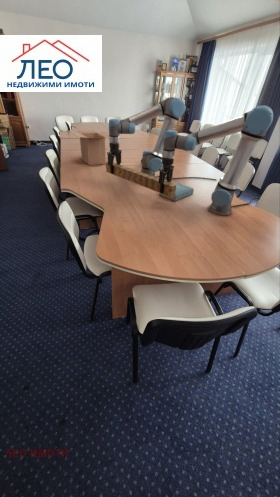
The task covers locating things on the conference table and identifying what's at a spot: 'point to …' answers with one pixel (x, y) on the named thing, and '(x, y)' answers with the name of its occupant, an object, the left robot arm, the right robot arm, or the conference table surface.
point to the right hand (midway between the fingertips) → (163, 191)
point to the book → (180, 192)
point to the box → (92, 146)
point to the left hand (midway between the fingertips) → (114, 173)
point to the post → (142, 179)
